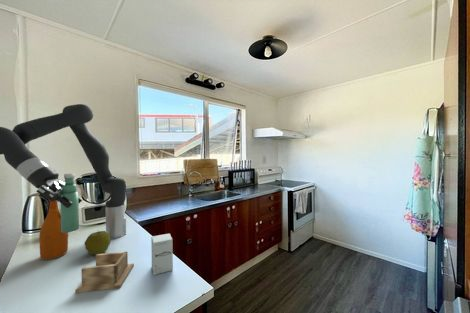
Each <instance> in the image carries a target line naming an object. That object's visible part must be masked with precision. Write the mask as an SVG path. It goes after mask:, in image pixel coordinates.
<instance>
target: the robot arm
mask: <svg viewBox="0 0 470 313" xmlns="http://www.w3.org/2000/svg"><path fill="white" fill-rule="evenodd" d="M93 118H94V112H93V109H92V108H91V107H90V106H88V105H86V104H84V103H83V104H82V103H79V104H78V103H77V104H71V105H67V106H65V107H63V109H62V111H61V112H60V113H57V114H56V113H55V114H54V115H52V114H51V115H48V116H43V117H38V118H35V119H30V120H28V121H25V122H21V123H18V124H16V125H15V126H14V127H13V128H12V129H10V128H7V127H4V126H3V127H2V126H0V155H3V156H4V157H3V158H4V160H5V162H6V163H7V164H8V165H10V167H12V168H13V169H14V170H16V171H17V172H18V174H19V175H20V177H23V178H24V179H25V181H27V182H29V183H30V184H31V185H32V186H33V187H35V188H36V189H37V190H36V193H38V194H39V195H40V196H42V197H44V198H45V199H47V200H48V201H49V200H50V201H52V202H53V201H57V203H58V202H59V203H60V205H61V204H63V205H64V206H65V207H66V208H69V207H70V206H71V205H72V204H73V203H72V202H71V201H70V200H69V199H67V198H66V197H64V195H63V194H62V185H65V181H64V182H63V181H62V180H60V178H59V176H60V175H59V173H58V172H57V171H56V170H55V169H53V168H52V167H51V166H50V165H48V164H47V162H45V161H43V160H42V159H40V158H39V157H38V156H37V155H36V154H34V152H32V151H31V150H29V149H28V147H27V146H26V145H27V144H28V143H30V142H31V141H33V140H34V141H35V140H37V139H39V138H42V137H45V136H46V135H50V134H52V133H54V132H57V131H60V130H62V129H65V128H68V127H69V128H70V129H71V131H72V132H73V134H74V136H75V138H76V139H77V141H78V143H79V144H80V146H81V147H82V150H83V152H84V154H85V155H86V157H87V158H86V159H87V160H88V161H89V163H90V164H91V167H92V169H93V171H94V172H95V174H96V176H97V179H98V182H99V183H100V187H101V189H102V191H103V192H105V193H106V194H110V199H109V200H106V201H105V231H106V232H107V233H108V234H109V236H110V239H118V238H120V237H123V236H124V235H126V234H127V217H125V201H126V194H127V185H126V181H125V179H123V178H121V177H114V176H113V175H112V173H111V171H110V167H109V166H110V156H109V153H108V152H107V149H106V147H105V145H104V144H103V143H102V141H101V140H100V139H99V138H97V137H96V136H95V135H94V134H93V133H92V132H91V131H90V130H89V128H88V126H87V125H86V124H87V123H89V122H91V121H92V120H93ZM76 191H78V190H77V189H76ZM49 195H50V196H51V197H50V196H49ZM78 198H79V204H80V203H81V202H83V199H82V197H80V196H79V195H78ZM50 201H49V202H50Z"/></svg>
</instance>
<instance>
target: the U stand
mask: <svg viewBox="0 0 470 313" xmlns="http://www.w3.org/2000/svg"><path fill="white" fill-rule="evenodd" d="M128 256H129V255H128V251H119V252H106V253H105V252H103V253H102V254H97V255H95V265H92V266H83V267H81V283H80V284H79V285H78V286H77V287H76V288H75V289H74V290H75V291H74V292H75V294H77V293H85V292H86V293H87V292H94V291H95V292H96V291H103V290H105V291H106V290H112V289H113V290H114V289H120V288H122V286H123V284H124V283H125V281H126V279H127V278H128V277H129V275H130V274H131V271H132V270H133V268H134V266H135V263H129V262H128V258H129V257H128Z"/></svg>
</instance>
